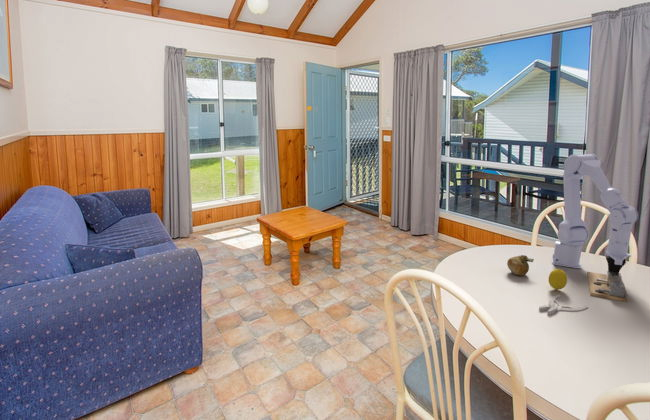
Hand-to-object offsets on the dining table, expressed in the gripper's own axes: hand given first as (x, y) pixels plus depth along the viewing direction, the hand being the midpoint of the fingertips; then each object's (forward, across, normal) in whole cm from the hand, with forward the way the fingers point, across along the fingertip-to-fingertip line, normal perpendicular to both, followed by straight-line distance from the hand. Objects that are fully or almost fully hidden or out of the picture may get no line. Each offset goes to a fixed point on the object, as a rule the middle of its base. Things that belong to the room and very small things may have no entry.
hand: (612, 277), depth 142 cm
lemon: (+3, -15, +17) cm, 23 cm away
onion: (+3, -6, +30) cm, 31 cm away
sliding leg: (+1, -3, +1) cm, 4 cm away
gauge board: (+2, -4, +2) cm, 5 cm away
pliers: (+3, -29, +16) cm, 33 cm away
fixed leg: (+1, -12, +2) cm, 13 cm away
